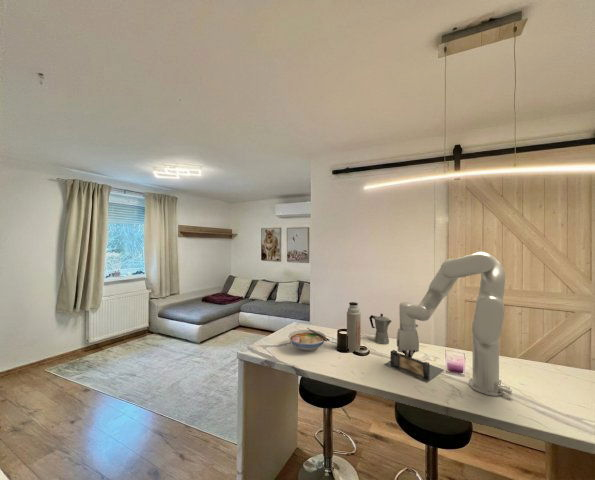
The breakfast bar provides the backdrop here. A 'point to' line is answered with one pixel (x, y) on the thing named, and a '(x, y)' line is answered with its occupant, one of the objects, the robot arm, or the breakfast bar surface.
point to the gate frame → (428, 375)
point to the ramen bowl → (307, 339)
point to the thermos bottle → (354, 327)
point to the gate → (411, 364)
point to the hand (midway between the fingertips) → (408, 363)
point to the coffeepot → (381, 328)
